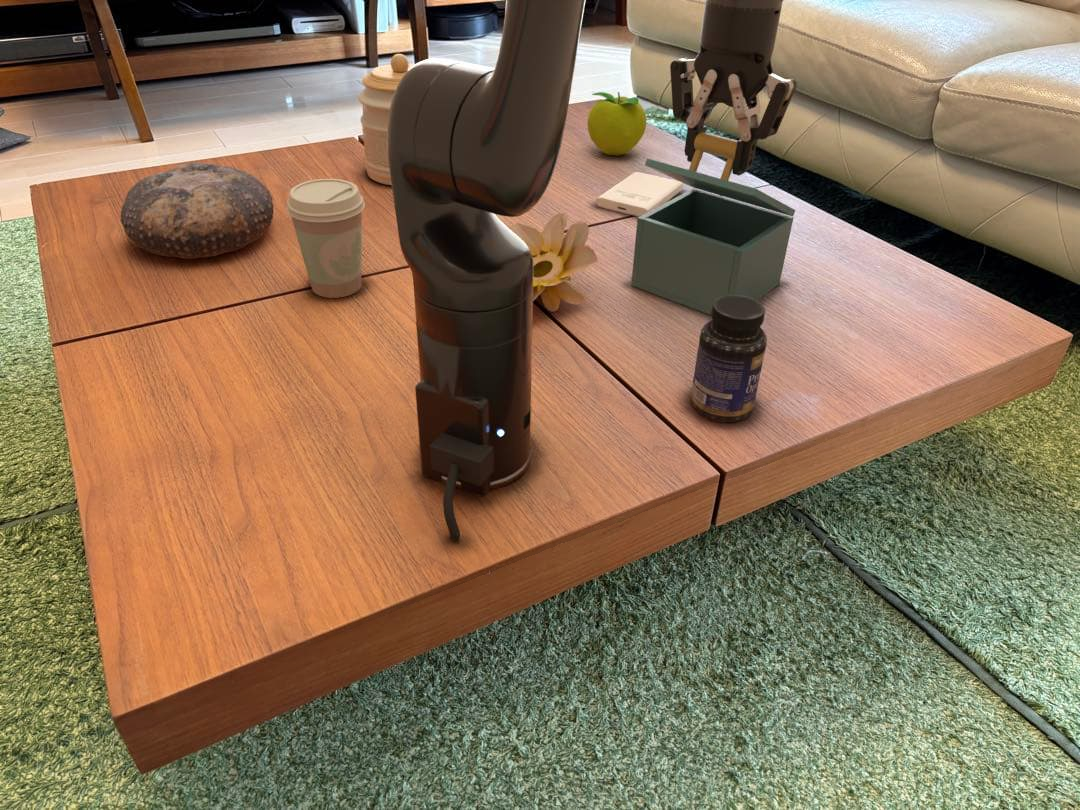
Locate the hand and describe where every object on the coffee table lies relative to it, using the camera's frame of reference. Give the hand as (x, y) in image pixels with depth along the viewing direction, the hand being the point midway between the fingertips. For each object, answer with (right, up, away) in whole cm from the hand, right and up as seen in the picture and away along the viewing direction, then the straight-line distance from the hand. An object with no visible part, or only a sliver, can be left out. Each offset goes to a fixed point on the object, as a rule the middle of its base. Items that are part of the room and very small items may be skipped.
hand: (716, 166), depth 92 cm
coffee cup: (-44, -12, +8) cm, 46 cm away
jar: (-40, +10, +39) cm, 57 cm away
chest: (+1, -12, +10) cm, 15 cm away
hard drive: (-5, +4, +32) cm, 33 cm away
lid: (+1, -2, +3) cm, 4 cm away
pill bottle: (-2, -27, -10) cm, 29 cm away
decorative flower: (-21, -13, +8) cm, 26 cm away
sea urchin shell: (-64, -4, +18) cm, 67 cm away
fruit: (-7, +16, +49) cm, 52 cm away
